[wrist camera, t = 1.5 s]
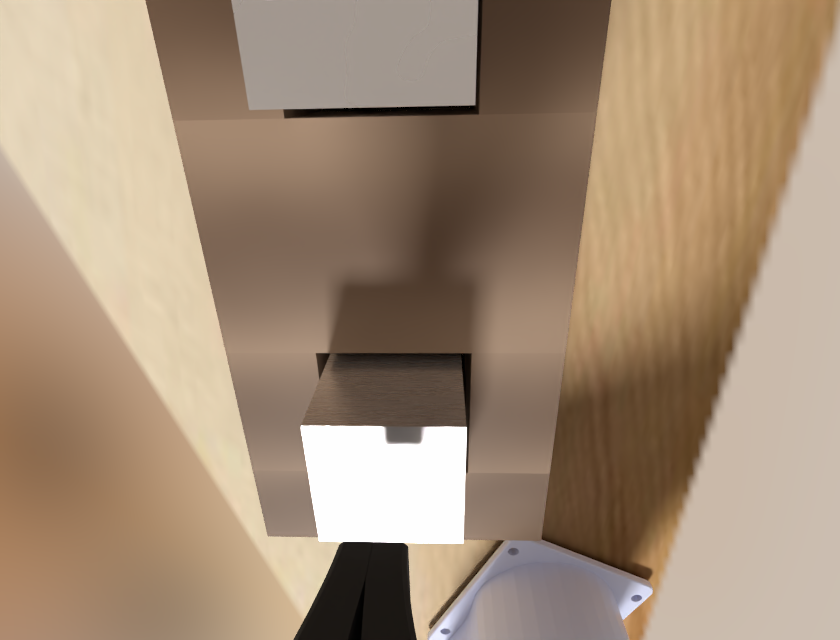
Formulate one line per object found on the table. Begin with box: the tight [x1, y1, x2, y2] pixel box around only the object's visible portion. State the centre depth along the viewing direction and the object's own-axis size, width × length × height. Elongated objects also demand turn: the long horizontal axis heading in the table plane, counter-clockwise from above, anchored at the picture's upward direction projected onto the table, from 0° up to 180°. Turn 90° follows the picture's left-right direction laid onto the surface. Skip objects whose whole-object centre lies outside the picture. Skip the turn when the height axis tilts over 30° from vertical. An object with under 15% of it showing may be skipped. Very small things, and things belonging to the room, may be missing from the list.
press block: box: [146, 0, 611, 541], centre depth 14 cm, size 22×10×4 cm, turn 1°
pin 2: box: [301, 353, 467, 544], centre depth 14 cm, size 4×4×4 cm
